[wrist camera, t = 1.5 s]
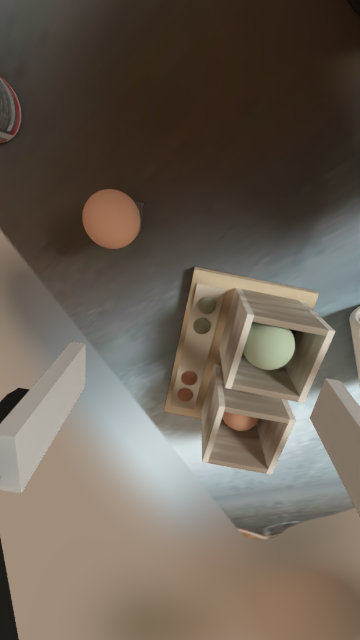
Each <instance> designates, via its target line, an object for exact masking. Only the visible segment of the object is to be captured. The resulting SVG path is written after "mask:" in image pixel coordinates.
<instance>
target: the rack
mask: <svg viewBox="0 0 360 640" xmlns="http://www.w3.org/2000/svg"><path fill="white" fill-rule="evenodd" d="M318 295H319V294H318V293H317V292H316V291H313V290H308V289H303V288H298V287H293V286H288V285H283V284H278V283H273V282H268V281H263V280H258V279H253V278H248V277H243V276H238V275H233V274H228V273H223V272H218V271H213V270H208V269H204V268H199V267H195V268H194V272H193V277H192V282H191V287H190V291H189V296H188V301H187V305H186V310H185V315H184V319H183V324H182V329H181V333H180V338H179V343H178V347H177V352H176V357H175V362H174V366H173V371H172V376H171V380H170V385H169V390H168V394H167V399H166V404H165V409H164V412H167V413H173V414H178V415H183V416H189V417H194V418H199V419H201V425H202V462H206V463H211V464H217V465H222V466H227V467H233V468H238V469H244V470H249V471H255V472H260V473H266V474H271V475H272V473H273V470H274V468H275V466H276V464H277V462H278V459H279V457H280V455H281V453H282V450H283V448H284V446H285V444H286V441H287V439H288V437H289V435H290V432H291V430H292V428H293V426H294V424H295V421H296V419H295V417H294V415H293V413H292V410H291V408H290V406H289V404H288V401H287V400H291V401H297V402H302V403H304V401H305V399H306V397H307V394H308V392H309V390H310V388H311V386H312V383H313V381H314V379H315V377H316V374H317V372H318V370H319V368H320V365H321V363H322V361H323V359H324V356H325V354H326V352H327V350H328V347H329V345H330V343H331V341H332V339H333V336H334V334H335V332H336V331H335V330H334V329H333V328H332V327H330V326H329V325H328V324H327V323H326V322H325V321H324V320H323V319H322V318H321V317H320V316H319V315H318V314H317V313H316V312H315V311H314V310H313V308H314V305H315V303H316V300H317V298H318ZM254 322H257V323H262V324H267V325H272V326H277V327H282V328H287V329H290V331H291V332H292V334H293V336H294V340H295V350H294V353H293V356H292V358H291V359H290V360H289V361H288V363H286V364H285V365H284V366H282V367H280V368H278V369H274V370H264V369H260V368H257V367H255V366H254V365H252V364H251V363H250V362H249V361H248V360H247V359H246V357H245V355H244V353H243V350H244V347H245V344H246V340H247V337H248V334H249V331H250V328H251V325H252V323H254ZM224 412H228V413H234V414H239V415H244V416H249V417H255V418H259V420H258V422H257V424H256V425H255V426H254V427H252V428H251V429H249V430H246V431H237V430H234V429H232V428H230V427H229V426H228V425H227V424H226V423H225V422H224V420H223V418H222V416H223V413H224Z"/></svg>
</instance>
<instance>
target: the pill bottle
mask: <svg viewBox="0 0 360 640" xmlns="http://www.w3.org/2000/svg"><path fill="white" fill-rule="evenodd" d="M20 124H21V108H20V104H19V101H18V98H17V96H16V94H15V92H14V91H13V89H12V88H11V86H10V85H9V84H8V83H7V82H6V81H5V80H4V79H3V78H2V77H0V143H4V142H7V141H9V140H11V139H12V138H13V137H14V136H15V135H16V134H17V132H18V130H19V128H20Z"/></svg>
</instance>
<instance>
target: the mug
mask: <svg viewBox="0 0 360 640" xmlns="http://www.w3.org/2000/svg"><path fill="white" fill-rule="evenodd" d="M350 326H351V333H352V339H353V346H354V352H355V359H356V365H357V372H358V378H359V385H360V306H359V307H357V308H356V309H355V310H354V311H353V312H352V313H351V315H350Z"/></svg>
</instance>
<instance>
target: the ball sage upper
mask: <svg viewBox="0 0 360 640" xmlns="http://www.w3.org/2000/svg"><path fill="white" fill-rule="evenodd" d="M294 350H295V340H294V336H293V334H292V332H291V331H290V329H287V328H282V327H277V326H272V325H267V324H262V323H257V322H254V323H252V325H251V328H250V331H249V334H248V337H247V340H246V344H245V347H244V350H243V353H244V355H245V357H246V359H247V360H248V361H249V362H250V363H251V364H252V365H254V366H255V367H257V368H260V369H264V370H274V369H278V368H280V367H282V366H284V365H285V364H286V363H288V361H289V360H290V359H291V358H292V356H293V353H294Z"/></svg>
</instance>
